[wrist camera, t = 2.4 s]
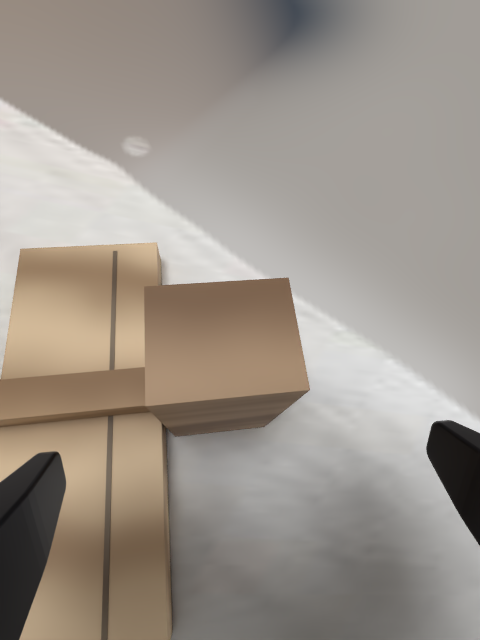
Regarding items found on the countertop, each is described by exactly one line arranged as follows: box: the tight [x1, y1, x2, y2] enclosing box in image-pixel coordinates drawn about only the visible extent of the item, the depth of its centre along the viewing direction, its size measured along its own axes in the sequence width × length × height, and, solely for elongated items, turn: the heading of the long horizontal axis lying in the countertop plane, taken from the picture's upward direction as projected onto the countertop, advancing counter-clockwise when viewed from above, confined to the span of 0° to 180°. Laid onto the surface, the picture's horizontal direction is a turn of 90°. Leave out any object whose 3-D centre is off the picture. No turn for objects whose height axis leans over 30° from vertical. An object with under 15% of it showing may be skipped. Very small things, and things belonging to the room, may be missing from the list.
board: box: [0, 243, 172, 640], centre depth 19 cm, size 20×8×2 cm, turn 6°
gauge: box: [0, 278, 310, 437], centre depth 15 cm, size 4×15×10 cm, turn 97°
